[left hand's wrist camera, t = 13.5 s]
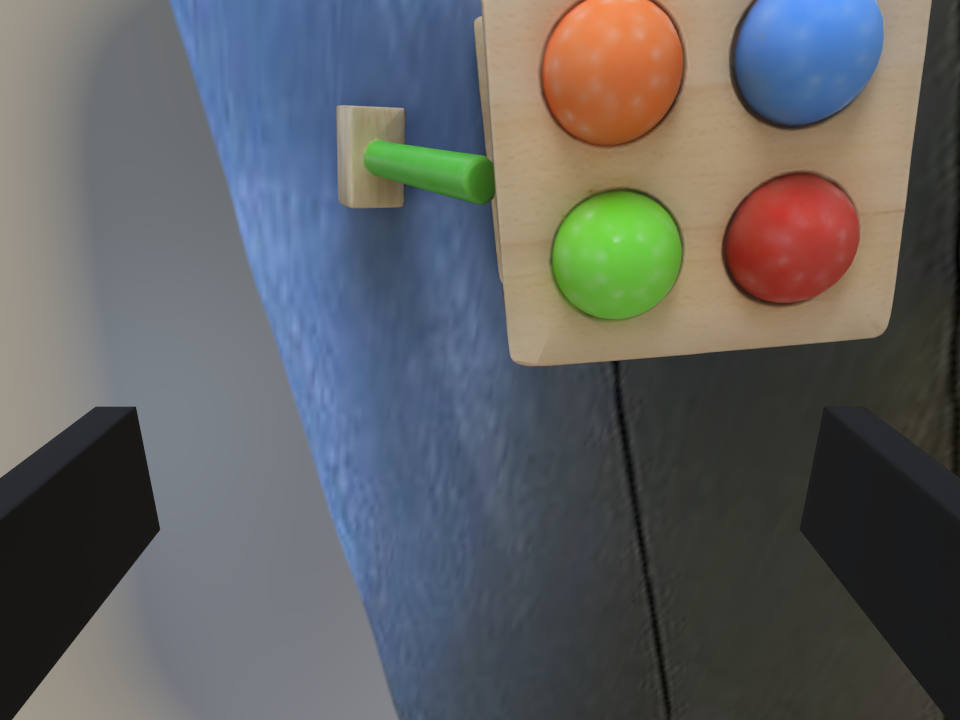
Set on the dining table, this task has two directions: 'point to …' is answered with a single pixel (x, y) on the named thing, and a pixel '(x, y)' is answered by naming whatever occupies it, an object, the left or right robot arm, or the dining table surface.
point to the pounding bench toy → (676, 170)
